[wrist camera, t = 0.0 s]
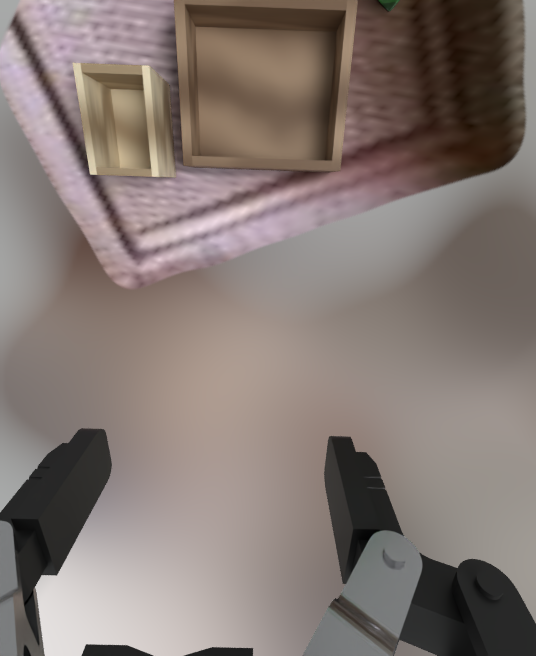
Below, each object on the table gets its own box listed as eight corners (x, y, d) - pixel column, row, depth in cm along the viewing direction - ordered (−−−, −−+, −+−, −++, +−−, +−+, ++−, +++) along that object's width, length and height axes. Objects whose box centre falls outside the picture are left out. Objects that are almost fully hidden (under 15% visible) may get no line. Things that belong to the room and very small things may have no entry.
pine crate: (106, 82, 33) (72, 62, 27) (169, 85, 33) (149, 65, 27) (117, 175, 36) (90, 174, 30) (175, 177, 36) (158, 176, 30)
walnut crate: (187, 18, 31) (173, -10, 26) (344, 24, 31) (358, -3, 26) (194, 167, 35) (183, 165, 31) (330, 172, 35) (340, 171, 31)
